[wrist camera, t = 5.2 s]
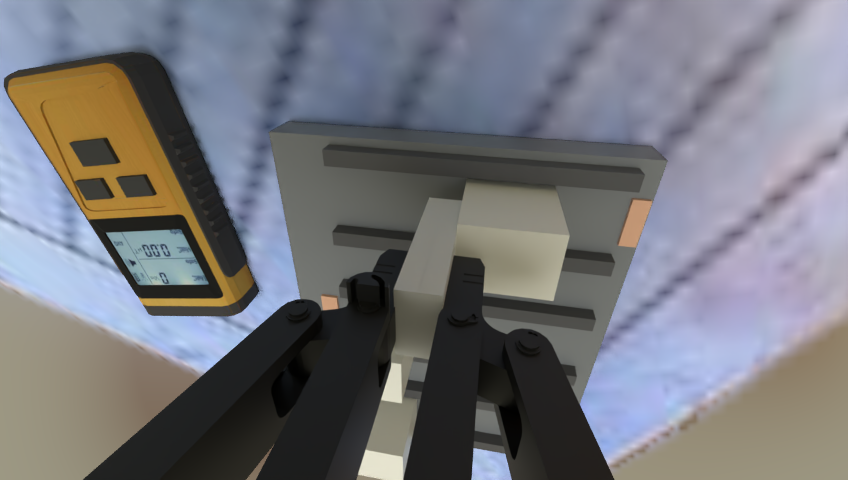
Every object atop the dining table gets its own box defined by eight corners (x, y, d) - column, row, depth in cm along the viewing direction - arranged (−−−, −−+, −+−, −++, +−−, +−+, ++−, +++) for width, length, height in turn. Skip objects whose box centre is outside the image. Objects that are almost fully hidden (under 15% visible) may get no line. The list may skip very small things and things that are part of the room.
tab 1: (352, 295, 23) (322, 352, 19) (418, 303, 22) (401, 364, 19) (356, 331, 25) (329, 391, 21) (417, 340, 24) (401, 403, 20)
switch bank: (288, 121, 20) (260, 136, 18) (652, 146, 18) (675, 167, 15) (331, 392, 32) (318, 422, 29) (557, 430, 29) (562, 467, 27)
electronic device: (169, 46, 20) (115, 52, 17) (268, 288, 28) (242, 320, 25) (45, 67, 22) (-24, 75, 19) (170, 289, 29) (135, 319, 27)
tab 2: (361, 383, 27) (338, 444, 23) (417, 392, 27) (402, 456, 23) (364, 410, 29) (342, 471, 25) (416, 419, 28) (403, 483, 24)
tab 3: (467, 178, 18) (457, 224, 14) (555, 185, 17) (569, 235, 14) (462, 233, 20) (452, 288, 16) (543, 242, 19) (553, 301, 15)
